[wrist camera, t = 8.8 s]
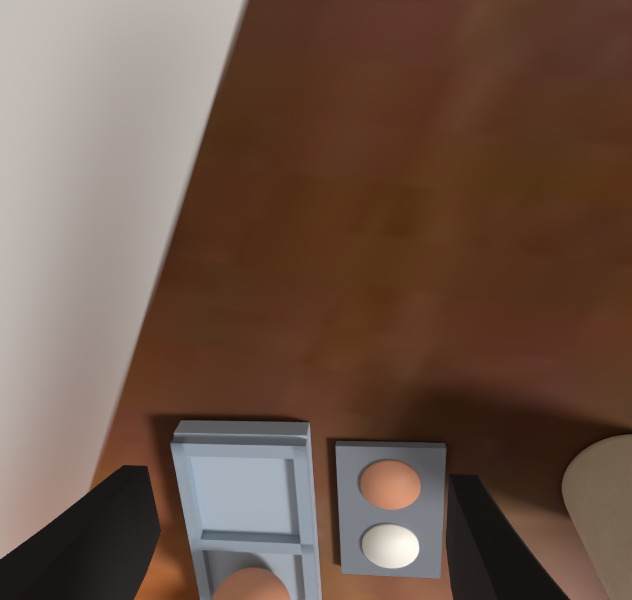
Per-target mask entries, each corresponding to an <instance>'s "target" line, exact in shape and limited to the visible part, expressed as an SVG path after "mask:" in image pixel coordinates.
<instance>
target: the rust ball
mask: <svg viewBox="0 0 632 600" xmlns="http://www.w3.org/2000/svg"><path fill="white" fill-rule="evenodd" d="M212 600H291V598H290V595H289V592H288V590H287V588H286V587H285V585H284V584H283V582H282V581H281V580H280V579H279V578H278V577H277V576H276V575H275V574H273V573H272V572H270V571H268V570H266V569H262V568H257V567H249V568H244V569H241V570H238V571H236V572H234V573H233V574H231V575H230V576H228V577H227V578H226V579H225V580H224V581H223V582H222V583H221V585H220V586H219V587H218V589H217V590H216V592H215V594H214V596H213V598H212Z"/></svg>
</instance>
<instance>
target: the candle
mask: <svg viewBox="0 0 632 600" xmlns="http://www.w3.org/2000/svg"><path fill="white" fill-rule="evenodd" d="M562 494H563V499H564V503H565V505H566V508H567V510H568V512H569V515H570V517H571V519H572V521H573V524H574V526H575V528H576V530H577V532H578V534H579V536H580V538H581V541H582V543H583V545H584V547H585V549H586V551H587V553H588V555H589V558H590V560H591V562H592V564H593V566H594V568H595V570H596V572H597V575H598V577H599V579H600V581H601V583H602V585H603V587H604V589H605V592H606V594H607V596H608V598H609V600H632V434H627V435H619V436H614V437H610V438H607V439H603V440H601V441H598V442H596V443H594V444H592V445H590V446H589V447H587V448H586V449H584V450H583V451H581V452H580V453H579V454H578V455H577V456H576V457H575V458H574V459H573V460H572V461H571V463H570V464H569V466H568V467H567V469H566V471H565V473H564V476H563V480H562Z"/></svg>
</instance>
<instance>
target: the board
mask: <svg viewBox="0 0 632 600" xmlns="http://www.w3.org/2000/svg"><path fill="white" fill-rule="evenodd" d="M170 444H171V450H172V455H173V460H174V465H175V471H176V476H177V481H178V486H179V492H180V497H181V502H182V507H183V513H184V518H185V523H186V528H187V533H188V539H189V544H190V549H191V554H192V560H193V565H194V570H195V575H196V581H197V586H198V591H199V596H200V600H212V598H213V596H214V594H215V592H216V590H217V589H218V587H219V586H220V585H221V583H222V582H223V581H224V580H225V579H226V578H227V577H228V576H230V575H231V574H233V573H234V572H236V571H238V570H241V569H244V568H249V567H257V568H262V569H266V570H268V571H270V572H272V573H273V574H275V575H276V576H277V577H278V578H279V579H280V580H281V581H282V582H283V584H284V585H285V587H286V588H287V590H288V592H289V595H290V598H291V600H322V594H321V580H320V565H319V551H318V537H317V522H316V508H315V494H314V480H313V465H312V451H311V437H310V422H259V421H198V420H181V421H180V423H179V425H178V426H177V428H176V430H175V431H174V438H173V440H172V441H171V443H170Z"/></svg>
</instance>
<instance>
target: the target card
mask: <svg viewBox="0 0 632 600" xmlns="http://www.w3.org/2000/svg"><path fill="white" fill-rule="evenodd" d="M445 465H446V445H445V443H424V442H375V441H336V466H337V487H338V507H339V527H340V548H341V568H342V574H361V575H380V576H400V577H419V578H439V579H440V572H441V551H442V529H443V508H444V487H445Z"/></svg>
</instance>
